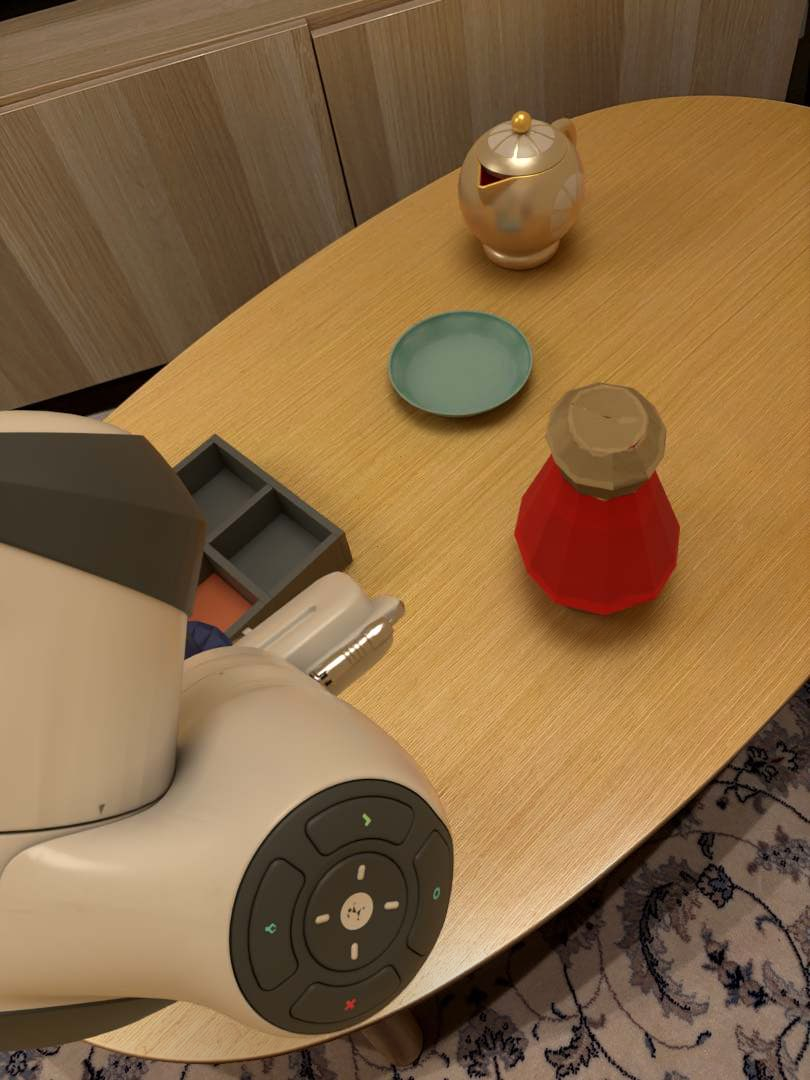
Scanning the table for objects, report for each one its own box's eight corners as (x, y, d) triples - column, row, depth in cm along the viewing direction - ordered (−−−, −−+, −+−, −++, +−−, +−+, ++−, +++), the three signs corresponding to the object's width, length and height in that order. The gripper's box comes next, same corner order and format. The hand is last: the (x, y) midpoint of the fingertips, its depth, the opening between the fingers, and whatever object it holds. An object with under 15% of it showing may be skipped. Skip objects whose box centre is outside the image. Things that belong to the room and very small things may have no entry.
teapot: (534, 307, 94) (537, 173, 81) (435, 264, 100) (422, 132, 86) (620, 215, 101) (636, 77, 87) (522, 180, 107) (523, 45, 93)
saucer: (561, 366, 89) (562, 347, 87) (470, 456, 84) (468, 438, 82) (452, 308, 96) (451, 289, 94) (362, 389, 91) (358, 371, 89)
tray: (205, 700, 73) (187, 677, 69) (85, 582, 81) (63, 556, 77) (353, 560, 79) (344, 531, 75) (228, 463, 87) (214, 432, 83)
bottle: (683, 645, 71) (734, 507, 55) (518, 650, 73) (518, 517, 56) (657, 491, 80) (693, 330, 63) (510, 498, 81) (507, 343, 64)
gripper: (381, 552, 40) (301, 539, 53) (-16, 860, 34) (2, 761, 47) (452, 657, 41) (357, 620, 54) (85, 968, 36) (76, 844, 49)
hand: (190, 687), depth 51 cm, fingers closed on navy bottle, 6 cm apart
